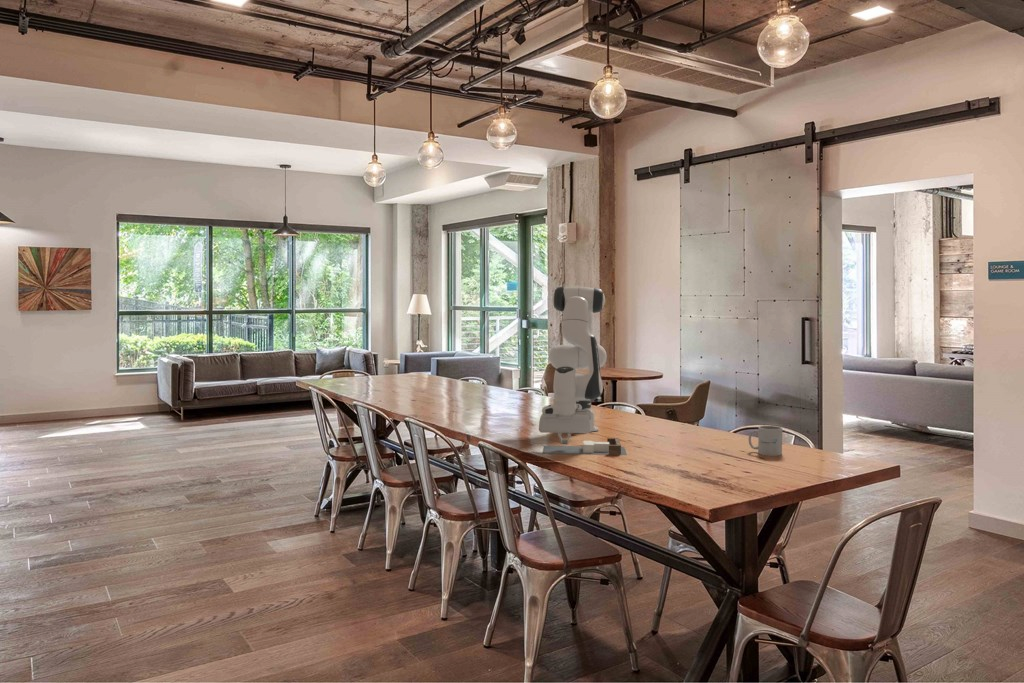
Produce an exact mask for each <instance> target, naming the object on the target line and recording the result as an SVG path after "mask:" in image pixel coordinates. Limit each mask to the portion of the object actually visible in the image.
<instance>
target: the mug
mask: <svg viewBox="0 0 1024 683" xmlns="http://www.w3.org/2000/svg"><path fill="white" fill-rule="evenodd" d="M755 433H756V434H758V438H757V439H758V442H757V443H758V444H757V446H755V445H753V443H752V436H753V434H755ZM748 445H749V446H750V448H751V449H753V450H758V451H757V452H758V453H757V454H759V455H761V454H762V455H761V456H768V457H769V456H771V457H777V456H782V455H783V427H780V426H776V425H775V426H774V425H759V426H758V429H754V430H752V431H751V432H750V433H749V434H748Z"/></svg>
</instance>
